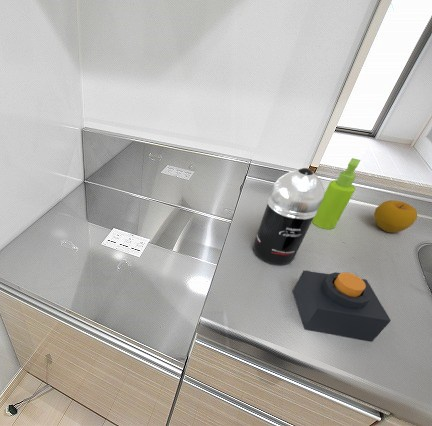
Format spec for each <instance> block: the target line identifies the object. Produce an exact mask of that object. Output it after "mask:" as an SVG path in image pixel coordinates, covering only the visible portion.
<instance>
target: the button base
mask: <svg viewBox="0 0 432 426" xmlns="http://www.w3.org/2000/svg"><path fill="white" fill-rule="evenodd" d="M340 273H341V272H337V271H336V272H332V273H324V272H317V271H310V270H302V272H301V274H300V276H299V278H298V280H297V281H296V283H295V285H294V287H293V289H292V295H293V298H294V301H295V304H296V307H297V311H298V314H299V317H300V321H301V323H302V326H303V330H306V331H311V332H317V333H322V334H327V335H333V336H337V337H343V338H349V339H354V340H360V341H365V342H370V343H372V342H374V340H375V339H376V338H377V337H378V336H379V335H380V334H381V332H382V331H384V329H386V327H387V326H388V325H389V323H391V322H392V320H391V318H390V317H389V315H388V313H387V312H386V309H385V308H384V306H383V305H382V303H381V301H380V299H379V298H378V297H377V296H378V295H376V293H375V292H374V290H373V288H372V286H371V284H370V283H369V281H368V280H367V279H365V278H361V279H362V280H363V281H364V282H365V285H366V288H365V289H364V290H363V292H362V293H361V295H360V296H358V297H351V296H348V295H346V294H343V293H341V292H340V291H339V290H338V289H336V288H335V286H334V281H335V280H336V278H337V277H338V275H339V274H340Z"/></svg>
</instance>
